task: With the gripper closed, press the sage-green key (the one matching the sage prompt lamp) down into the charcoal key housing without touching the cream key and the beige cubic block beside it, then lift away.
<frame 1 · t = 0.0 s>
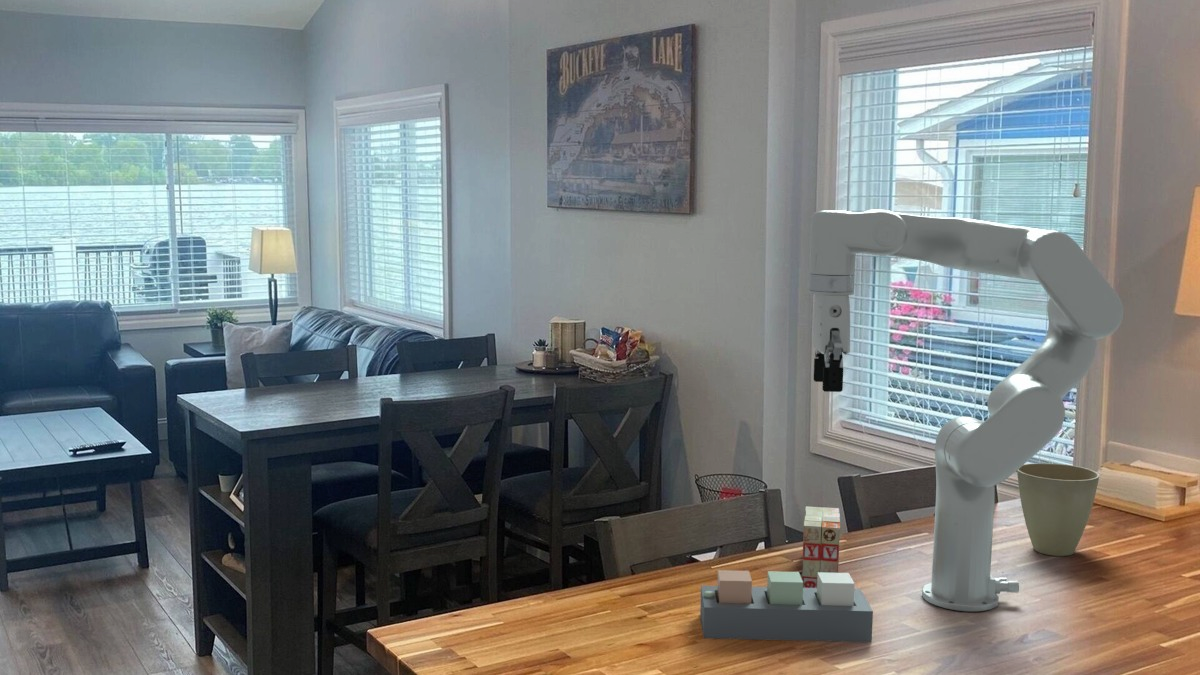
hand: (827, 386, 193), 37 cm above the counter, tool pointing down, fingers open, 9 cm apart
key sage: (784, 591, 183), point 6 cm above the counter, slide at 0.0 cm
beige cubic block: (734, 590, 183), point 6 cm above the counter, slide at 0.0 cm
key housing: (783, 628, 183), on the counter
key cream: (835, 593, 182), point 6 cm above the counter, slide at 0.0 cm
stack of blocks: (820, 575, 210), on the counter
plant pot: (1052, 551, 225), on the counter
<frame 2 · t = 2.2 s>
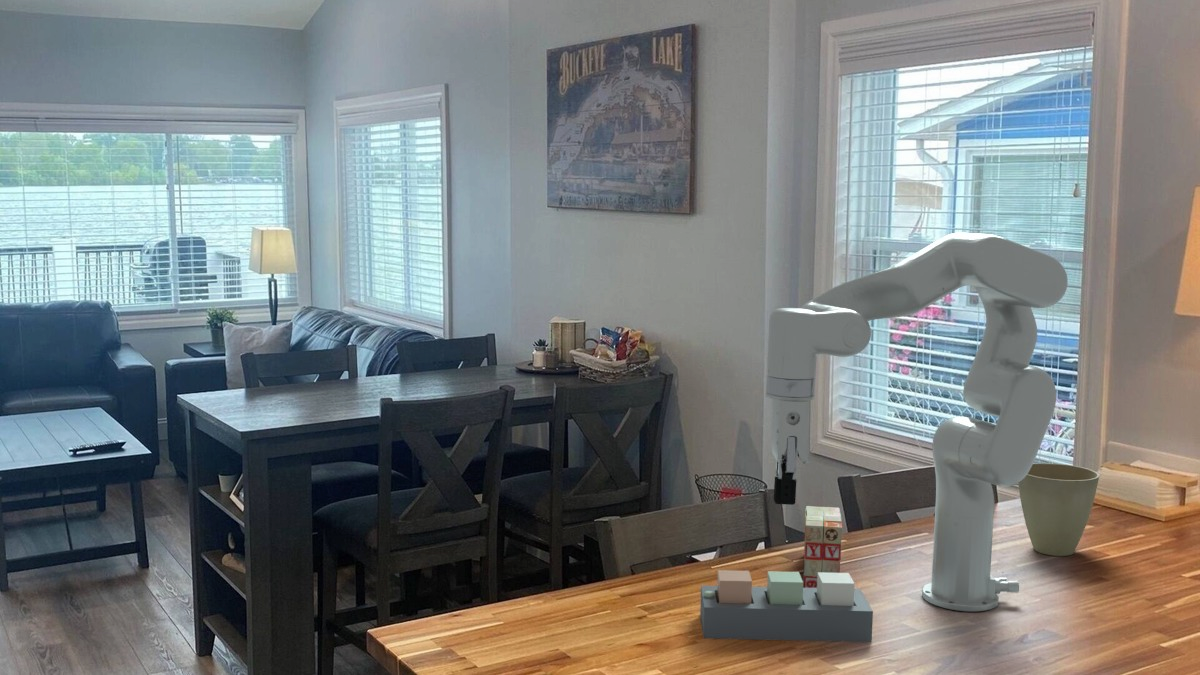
hand: (784, 502, 181), 21 cm above the counter, tool pointing down, fingers closed
nothing on the counter moved.
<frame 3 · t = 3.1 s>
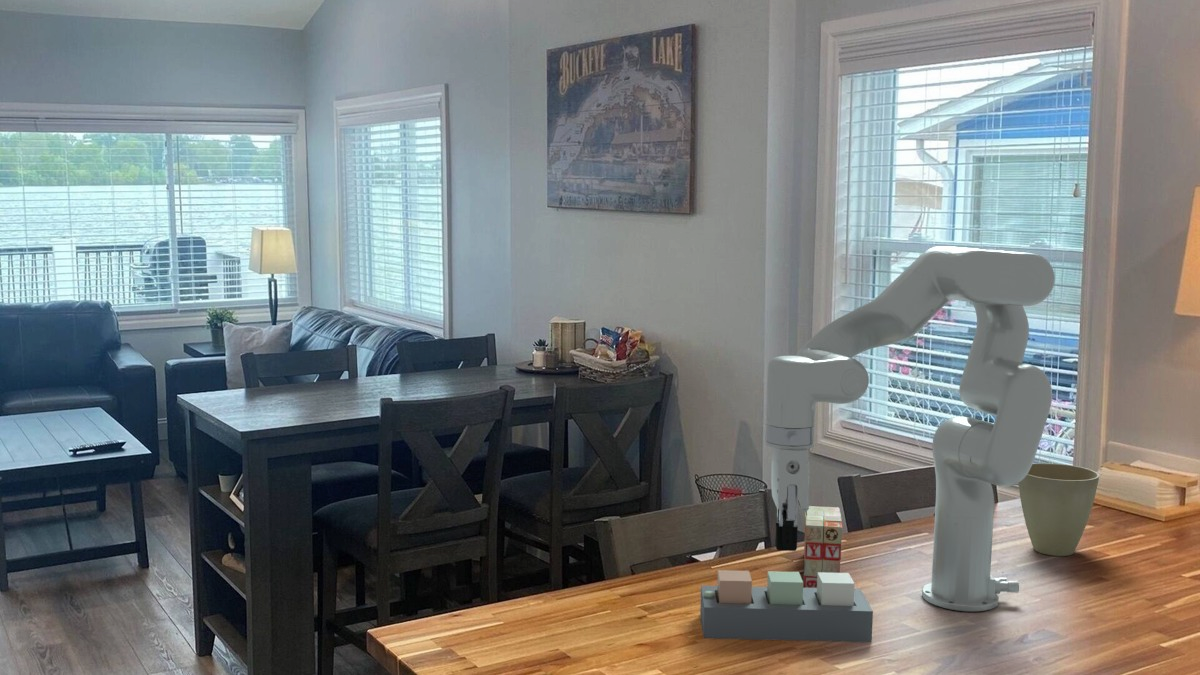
hand: (785, 548, 182), 13 cm above the counter, tool pointing down, fingers closed
nothing on the counter moved.
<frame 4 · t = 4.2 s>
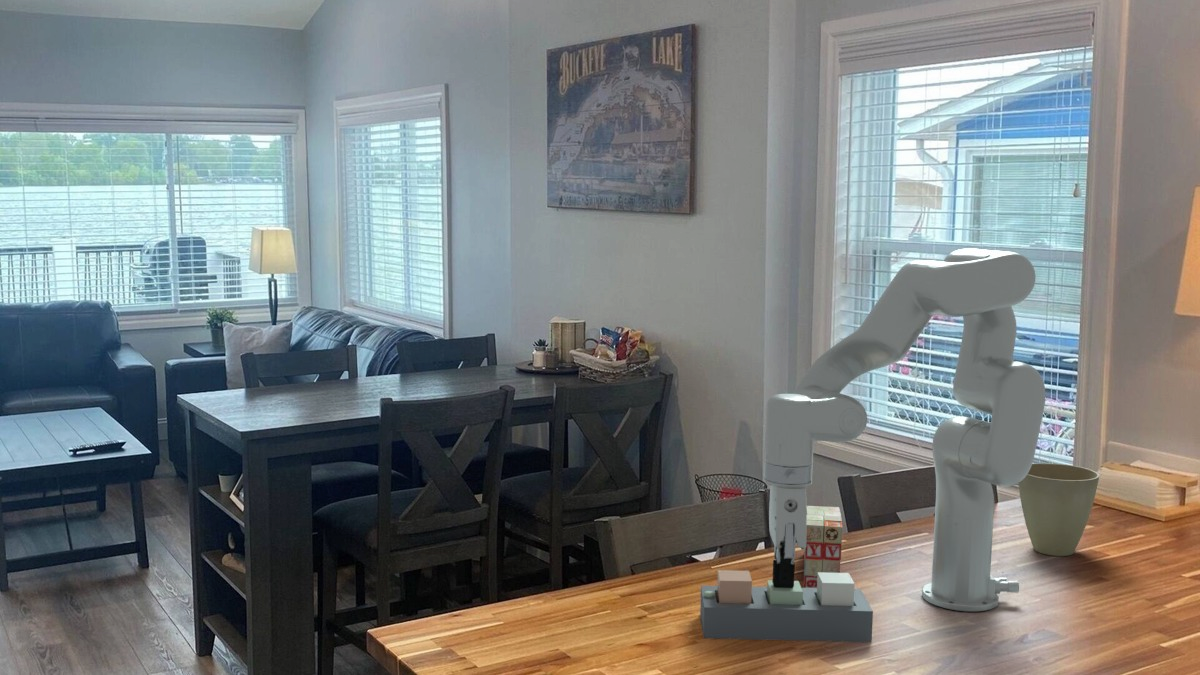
hand: (782, 585, 182), 7 cm above the counter, tool pointing down, fingers closed
key sage: (784, 601, 183), point 4 cm above the counter, slide at 1.5 cm, touching gripper
everything else where it was.
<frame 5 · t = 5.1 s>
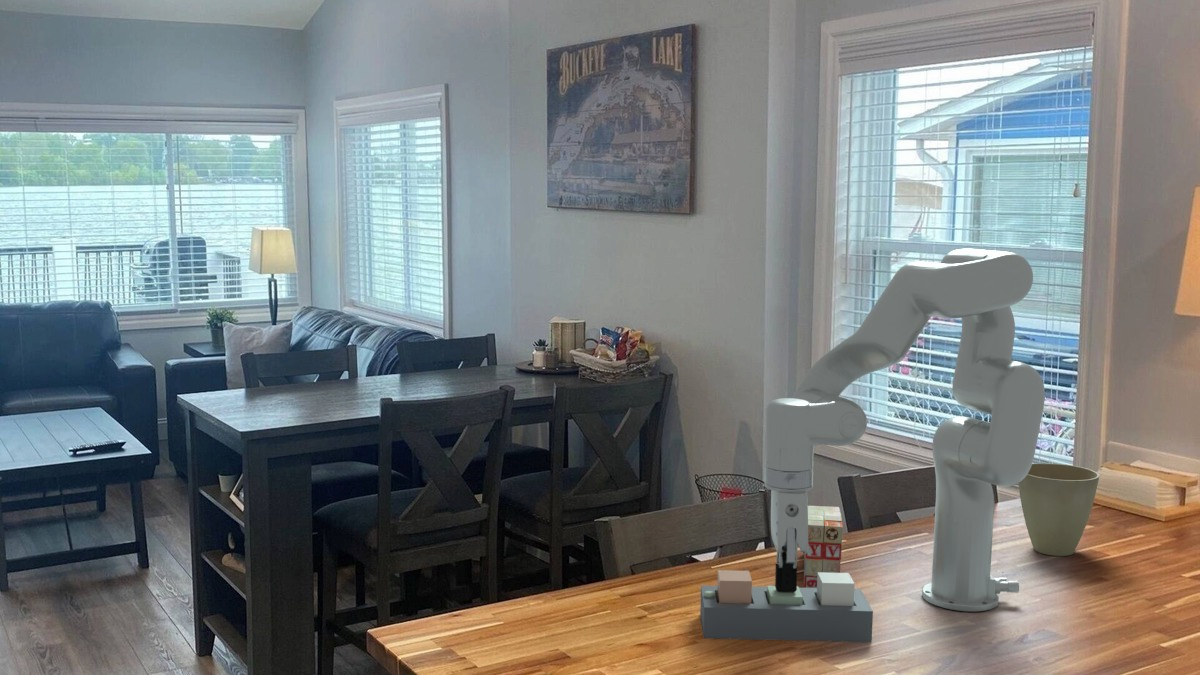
hand: (785, 589, 183), 6 cm above the counter, tool pointing down, fingers closed
key sage: (784, 606, 183), point 4 cm above the counter, slide at 2.4 cm
everything else where it was.
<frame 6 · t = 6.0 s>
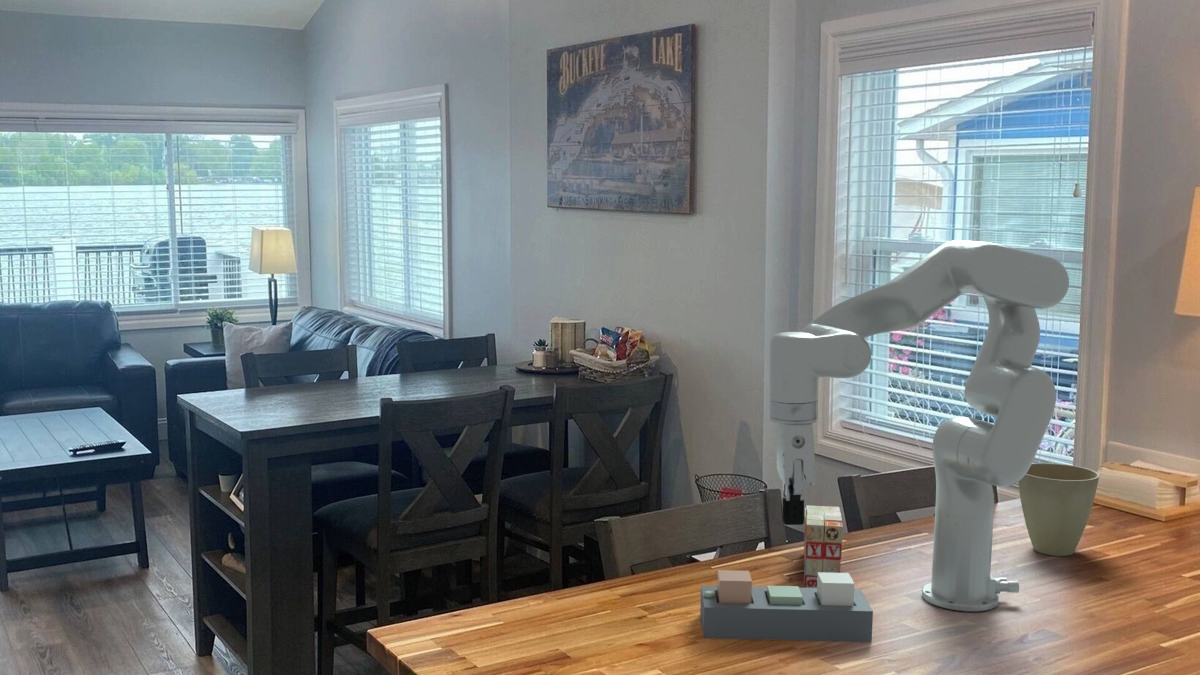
hand: (793, 523, 184), 17 cm above the counter, tool pointing down, fingers closed
nothing on the counter moved.
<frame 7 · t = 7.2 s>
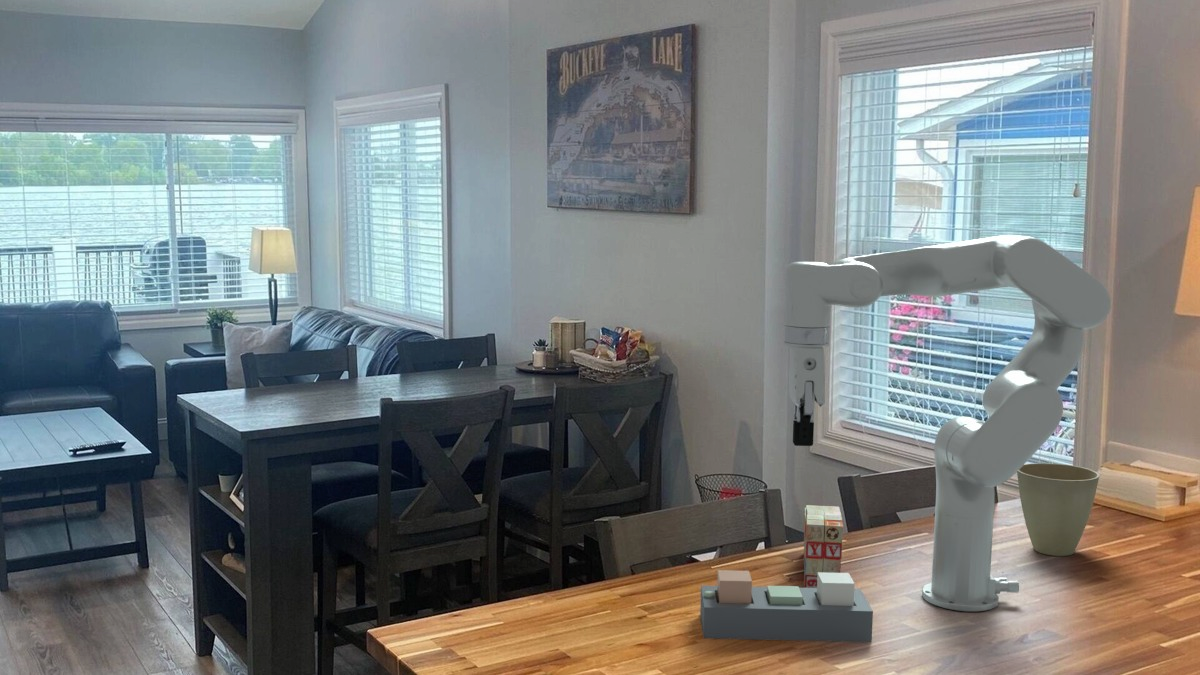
hand: (802, 444, 193), 27 cm above the counter, tool pointing down, fingers closed
nothing on the counter moved.
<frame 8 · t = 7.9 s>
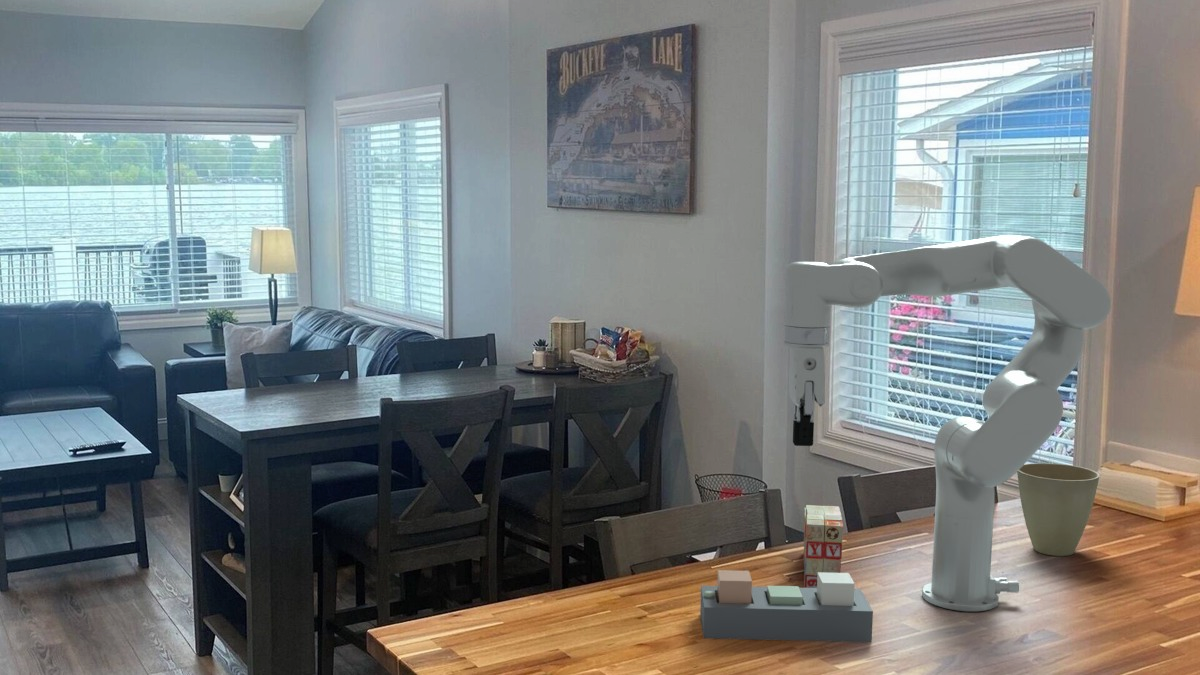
hand: (802, 444, 193), 27 cm above the counter, tool pointing down, fingers closed
at the end: key sage slide at 2.4 cm; key cream slide at 0.0 cm; beige cubic block slide at 0.0 cm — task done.
